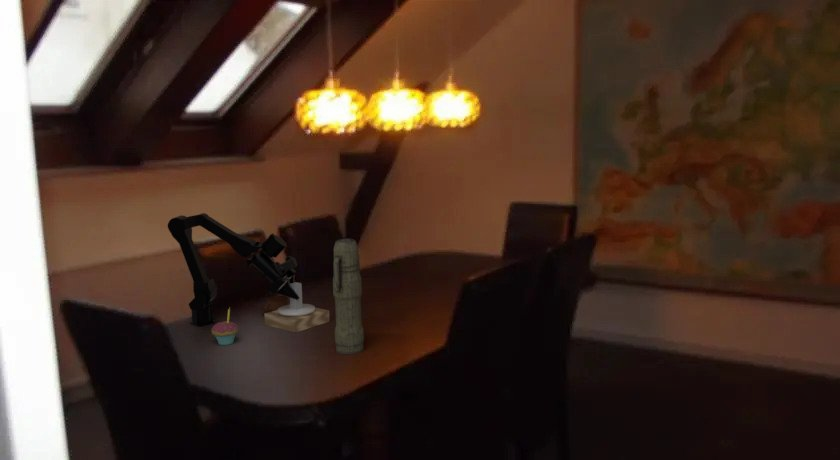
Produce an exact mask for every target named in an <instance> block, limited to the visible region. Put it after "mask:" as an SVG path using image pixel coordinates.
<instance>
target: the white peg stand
mask: <svg viewBox="0 0 840 460" xmlns="http://www.w3.org/2000/svg"><path fill="white" fill-rule="evenodd" d="M290 286H291V287H292V289H293V290H294V291H295V292H296V294H297V295H298V296H299V299H298V300H296V299H293V298H290V297H289V304H288V305H285V306H282V307H280V308H278V314H280V315H283V316H303V315H308V314H311V313H313V312H315V308H316V307H315V305H314V304H310V303H303V289H302V288H303V287H302V282H296V281H295V283H291V284H290Z"/></svg>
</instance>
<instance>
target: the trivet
mask: <svg viewBox="0 0 840 460" xmlns="http://www.w3.org/2000/svg"><path fill="white" fill-rule="evenodd" d="M263 315H264V326H269V327H273V328H276V329H279V330H283V331H287V332H291V333H292V332H293V333H298V332H301V331H304V330H308V329H310V328H314V327H317V326H320V325H323V324H326V323H329V322H330V310H328V309H325V308H324V309H323V308H318V307H315V312H313V313H311V314H308V315H303V316H283V315H280V314H278V310H276V311H272V312H269V313H265V314H263Z"/></svg>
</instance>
